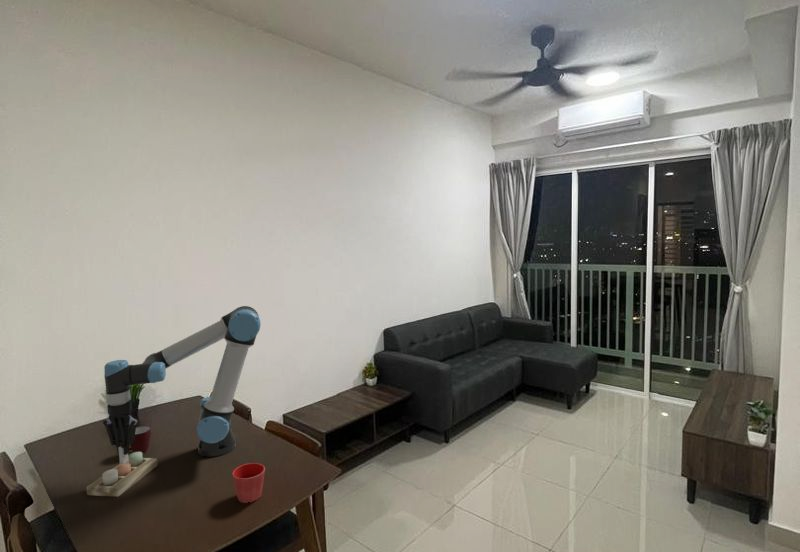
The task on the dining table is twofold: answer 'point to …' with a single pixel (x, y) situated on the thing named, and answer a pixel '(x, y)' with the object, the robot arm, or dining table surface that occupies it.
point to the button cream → (110, 476)
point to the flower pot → (249, 481)
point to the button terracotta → (124, 469)
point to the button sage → (135, 458)
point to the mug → (141, 439)
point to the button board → (122, 480)
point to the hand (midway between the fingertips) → (124, 462)
